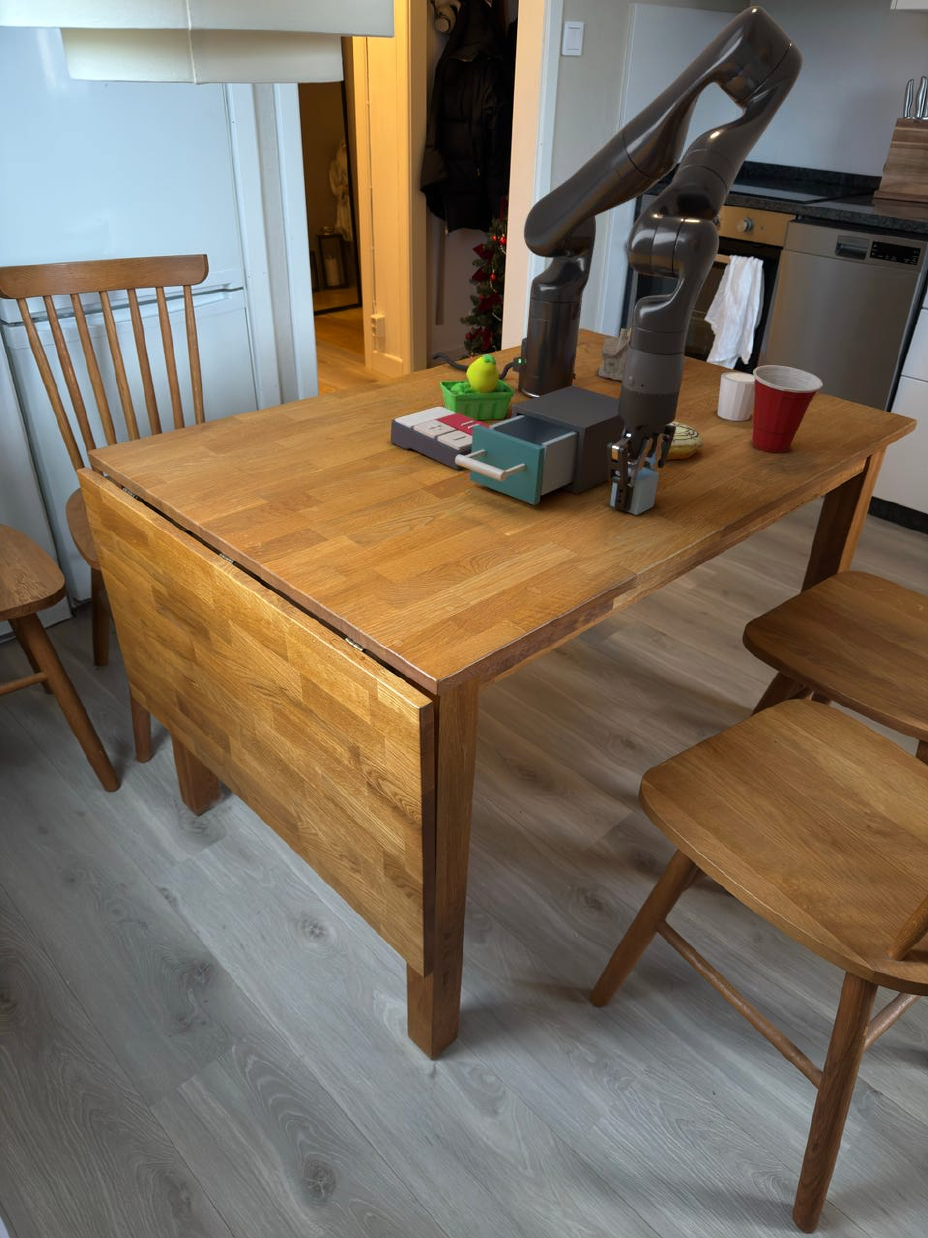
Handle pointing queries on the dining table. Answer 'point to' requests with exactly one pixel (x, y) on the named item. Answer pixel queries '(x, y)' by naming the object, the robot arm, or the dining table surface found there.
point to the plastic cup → (780, 405)
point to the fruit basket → (479, 392)
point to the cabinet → (580, 428)
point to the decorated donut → (684, 442)
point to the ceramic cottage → (615, 355)
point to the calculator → (436, 434)
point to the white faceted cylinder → (736, 396)
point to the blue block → (640, 491)
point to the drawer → (522, 457)
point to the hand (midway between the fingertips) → (632, 503)
